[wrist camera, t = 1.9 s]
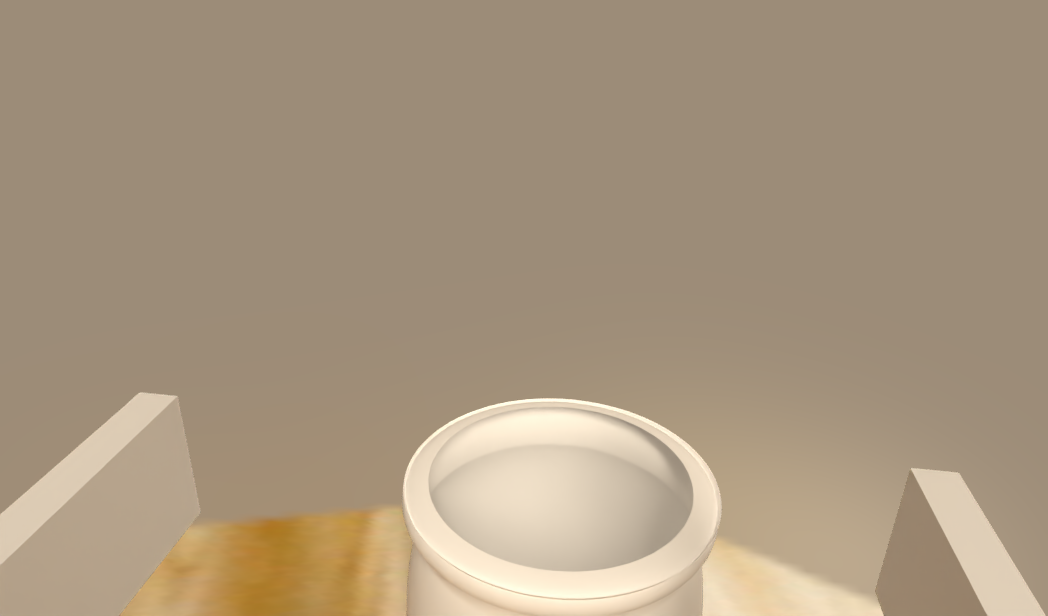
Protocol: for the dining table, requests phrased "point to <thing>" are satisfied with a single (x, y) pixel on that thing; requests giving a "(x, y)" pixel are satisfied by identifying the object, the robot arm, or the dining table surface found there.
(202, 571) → the dining table surface
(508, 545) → the jar
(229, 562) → the dining table surface
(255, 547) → the dining table surface
